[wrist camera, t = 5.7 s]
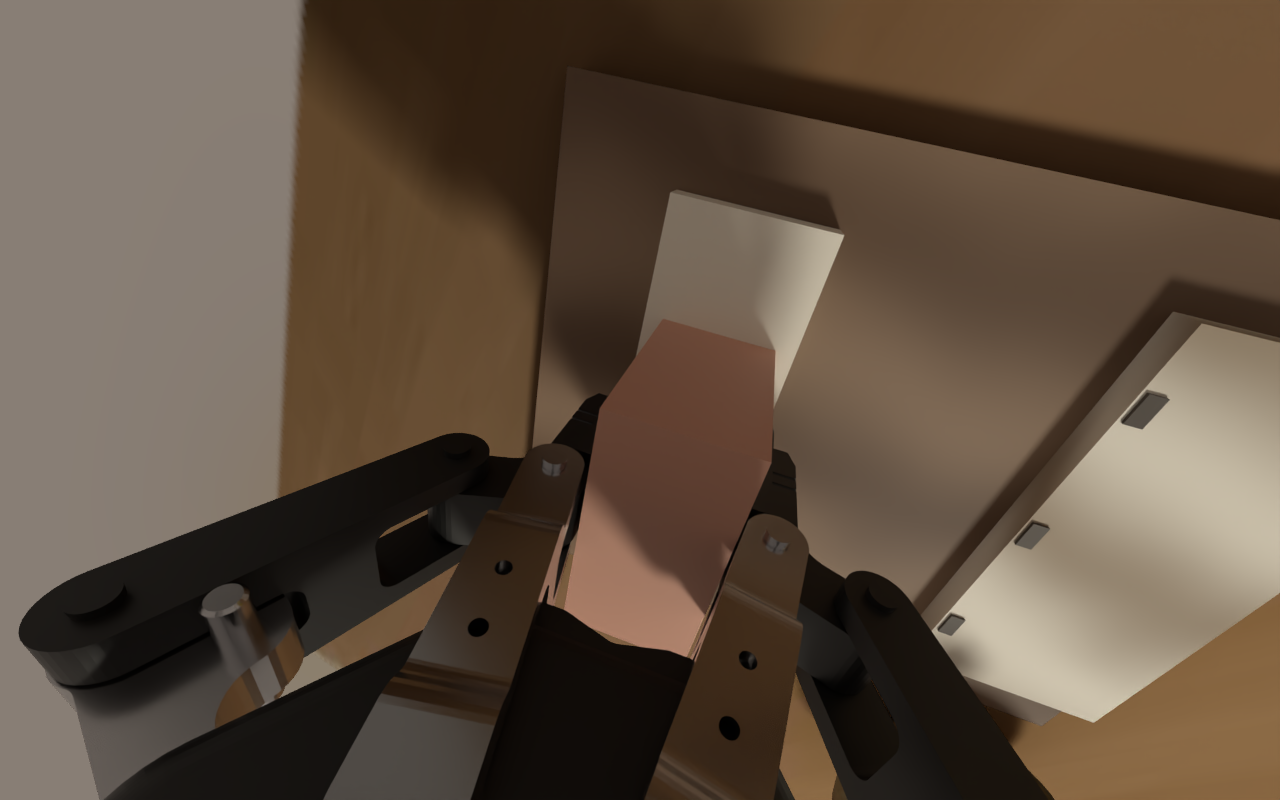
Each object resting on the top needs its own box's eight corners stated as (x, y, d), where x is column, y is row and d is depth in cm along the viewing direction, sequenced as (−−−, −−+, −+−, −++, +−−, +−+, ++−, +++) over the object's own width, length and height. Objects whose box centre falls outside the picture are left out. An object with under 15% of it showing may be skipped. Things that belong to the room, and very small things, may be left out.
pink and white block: (677, 189, 11) (597, 219, 6) (840, 229, 11) (888, 296, 6) (603, 529, 18) (534, 676, 13) (705, 565, 17) (674, 733, 12)
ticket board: (582, 71, 12) (551, 59, 10) (1537, 279, 9) (1699, 307, 7) (535, 520, 20) (513, 552, 18) (1028, 697, 17) (1054, 753, 16)
